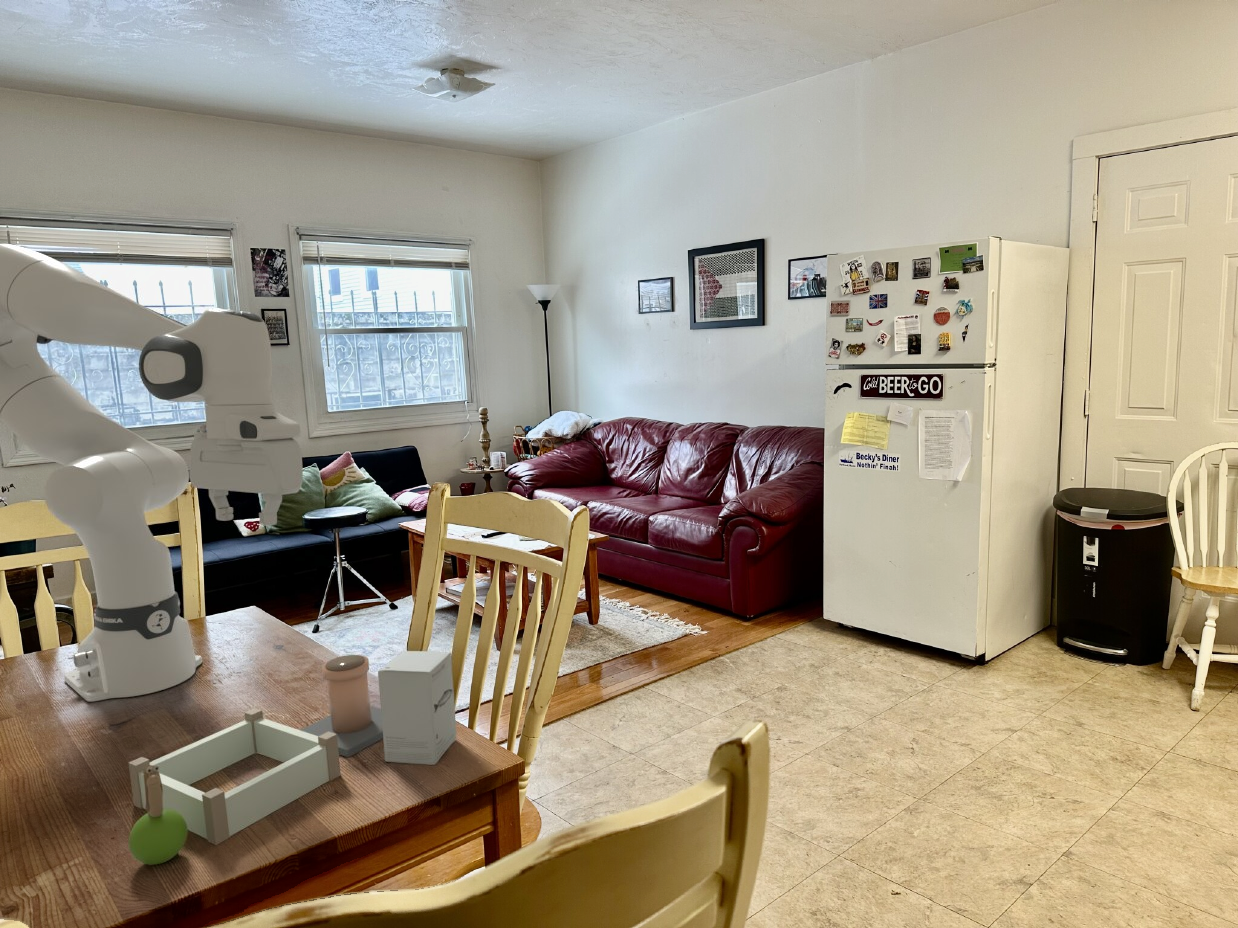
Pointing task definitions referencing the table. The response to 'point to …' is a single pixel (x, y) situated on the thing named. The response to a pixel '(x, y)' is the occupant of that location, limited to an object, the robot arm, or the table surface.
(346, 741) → the rubber mat
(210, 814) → the raised garden bed frame
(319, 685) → the table surface
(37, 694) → the table surface
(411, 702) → the supplement box
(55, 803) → the table surface
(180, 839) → the snail figurine
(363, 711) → the terracotta pot
